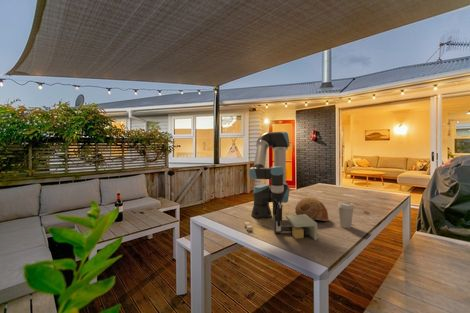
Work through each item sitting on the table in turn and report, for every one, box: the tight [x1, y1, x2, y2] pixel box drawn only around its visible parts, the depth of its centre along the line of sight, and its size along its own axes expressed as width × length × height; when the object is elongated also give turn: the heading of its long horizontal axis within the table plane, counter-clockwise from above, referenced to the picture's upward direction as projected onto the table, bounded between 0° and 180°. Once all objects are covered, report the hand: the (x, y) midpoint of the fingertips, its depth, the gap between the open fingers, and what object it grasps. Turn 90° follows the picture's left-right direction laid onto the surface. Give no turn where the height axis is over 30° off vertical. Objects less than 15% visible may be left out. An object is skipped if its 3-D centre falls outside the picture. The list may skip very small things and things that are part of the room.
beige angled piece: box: [285, 214, 318, 241], centre depth 135 cm, size 16×13×10 cm
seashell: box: [295, 197, 329, 222], centre depth 161 cm, size 21×20×15 cm
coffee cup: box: [337, 201, 355, 229], centre depth 146 cm, size 10×10×15 cm
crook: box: [272, 213, 310, 236], centre depth 136 cm, size 10×18×10 cm, turn 96°
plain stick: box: [243, 221, 254, 232], centre depth 146 cm, size 10×3×3 cm, turn 11°
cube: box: [291, 227, 305, 239], centre depth 133 cm, size 5×5×5 cm
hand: (277, 229), depth 138 cm, fingers closed on crook, 4 cm apart
